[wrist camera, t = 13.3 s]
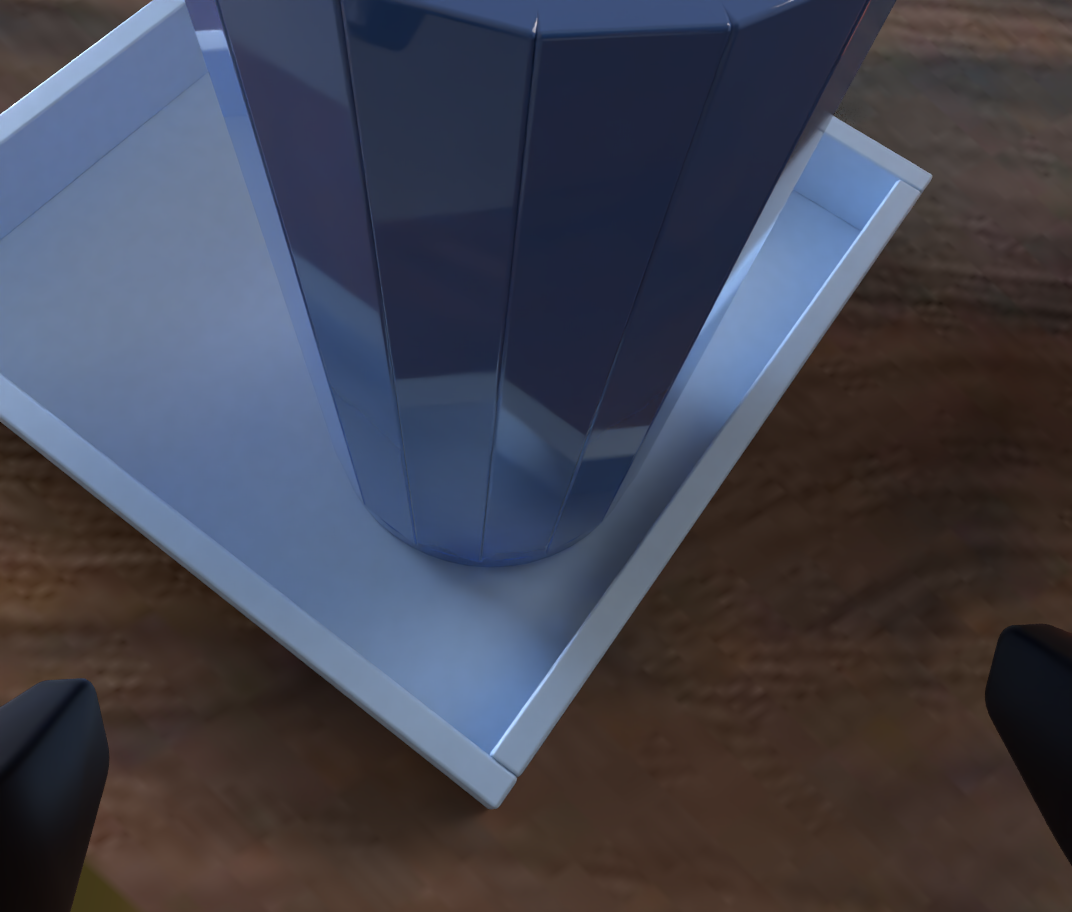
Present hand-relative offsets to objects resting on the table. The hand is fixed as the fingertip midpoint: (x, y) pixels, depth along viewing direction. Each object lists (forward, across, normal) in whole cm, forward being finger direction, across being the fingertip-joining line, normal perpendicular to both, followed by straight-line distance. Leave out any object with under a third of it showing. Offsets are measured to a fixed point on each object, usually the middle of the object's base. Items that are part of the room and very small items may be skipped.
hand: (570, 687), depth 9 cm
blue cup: (+10, 0, +1) cm, 10 cm away
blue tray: (+14, +2, -1) cm, 14 cm away
